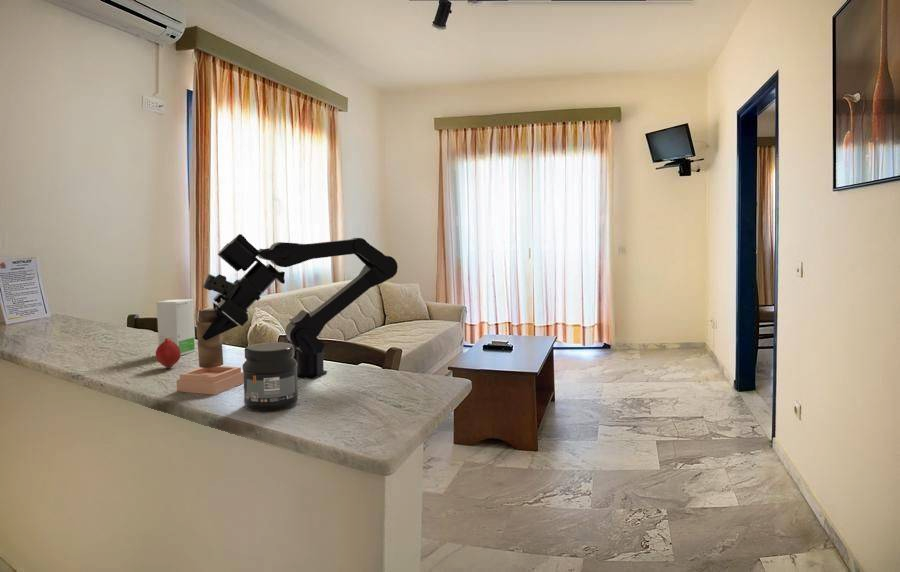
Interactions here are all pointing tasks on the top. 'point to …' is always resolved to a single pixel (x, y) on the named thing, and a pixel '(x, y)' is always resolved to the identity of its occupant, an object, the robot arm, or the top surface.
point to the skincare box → (177, 323)
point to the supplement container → (270, 377)
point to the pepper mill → (208, 341)
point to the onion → (168, 353)
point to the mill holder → (210, 380)
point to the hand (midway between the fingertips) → (203, 336)
